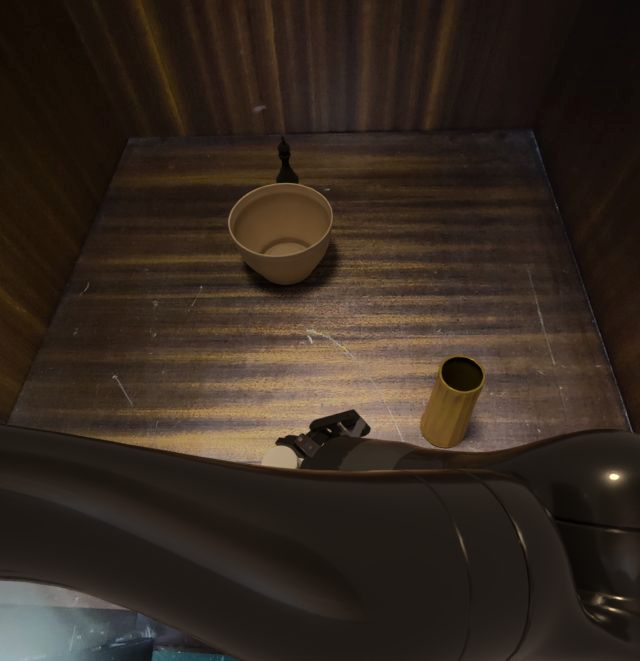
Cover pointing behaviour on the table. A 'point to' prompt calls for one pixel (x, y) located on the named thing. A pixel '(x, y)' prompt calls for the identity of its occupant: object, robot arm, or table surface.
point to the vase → (452, 400)
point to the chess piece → (285, 165)
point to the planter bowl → (282, 230)
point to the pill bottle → (281, 458)
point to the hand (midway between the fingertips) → (267, 466)
